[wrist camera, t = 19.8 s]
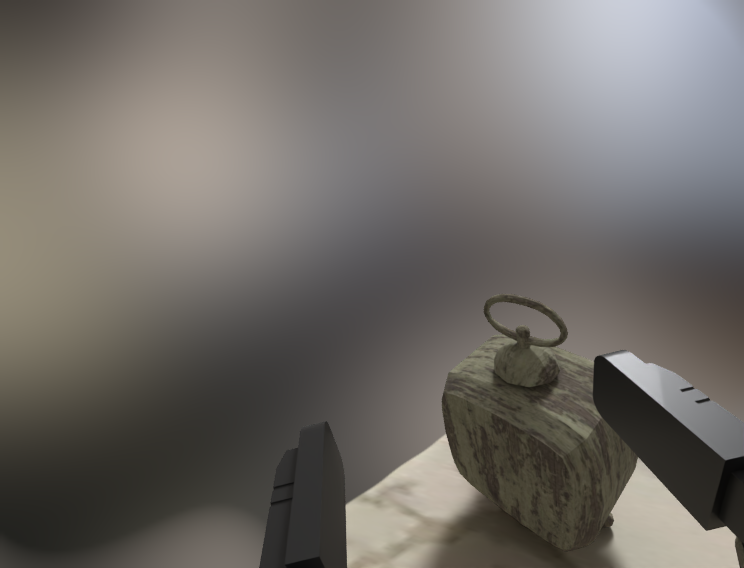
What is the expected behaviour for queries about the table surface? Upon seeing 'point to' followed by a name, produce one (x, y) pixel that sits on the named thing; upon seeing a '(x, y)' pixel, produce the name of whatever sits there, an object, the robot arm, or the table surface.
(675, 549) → the table surface
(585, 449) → the tabletop clock
